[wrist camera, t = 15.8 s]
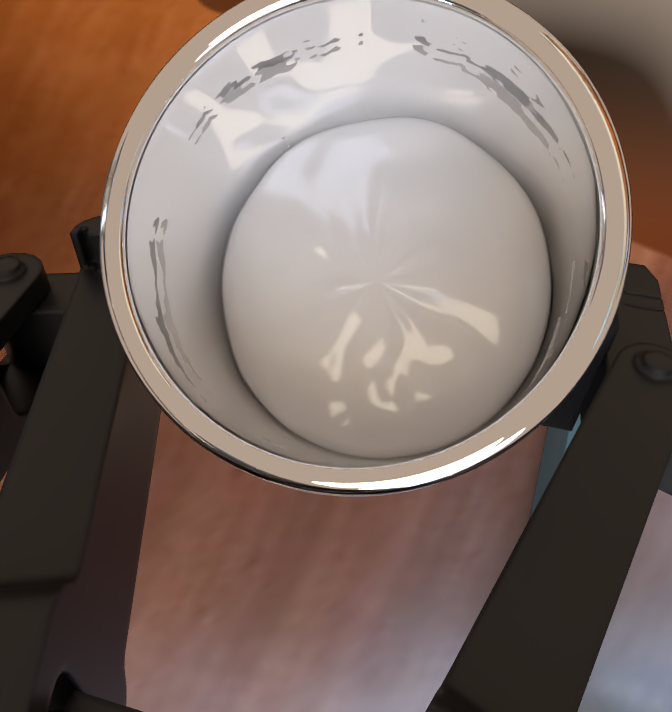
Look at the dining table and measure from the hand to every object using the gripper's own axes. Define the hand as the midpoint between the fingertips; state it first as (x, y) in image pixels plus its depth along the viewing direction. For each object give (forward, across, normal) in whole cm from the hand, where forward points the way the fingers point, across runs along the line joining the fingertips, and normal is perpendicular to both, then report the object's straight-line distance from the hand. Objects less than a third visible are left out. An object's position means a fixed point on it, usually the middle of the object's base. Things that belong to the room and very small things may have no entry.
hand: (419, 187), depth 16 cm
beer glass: (+2, 0, -7) cm, 7 cm away
